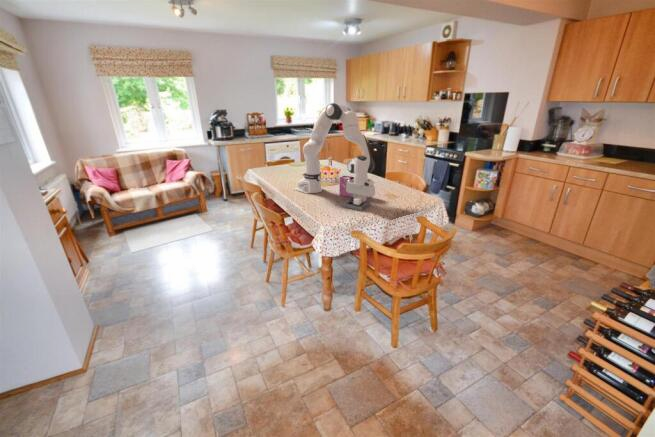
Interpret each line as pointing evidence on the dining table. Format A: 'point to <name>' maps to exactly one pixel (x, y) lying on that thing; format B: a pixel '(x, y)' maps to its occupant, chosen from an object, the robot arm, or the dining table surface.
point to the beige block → (358, 200)
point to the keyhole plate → (360, 207)
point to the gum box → (343, 186)
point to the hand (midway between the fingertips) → (359, 200)
